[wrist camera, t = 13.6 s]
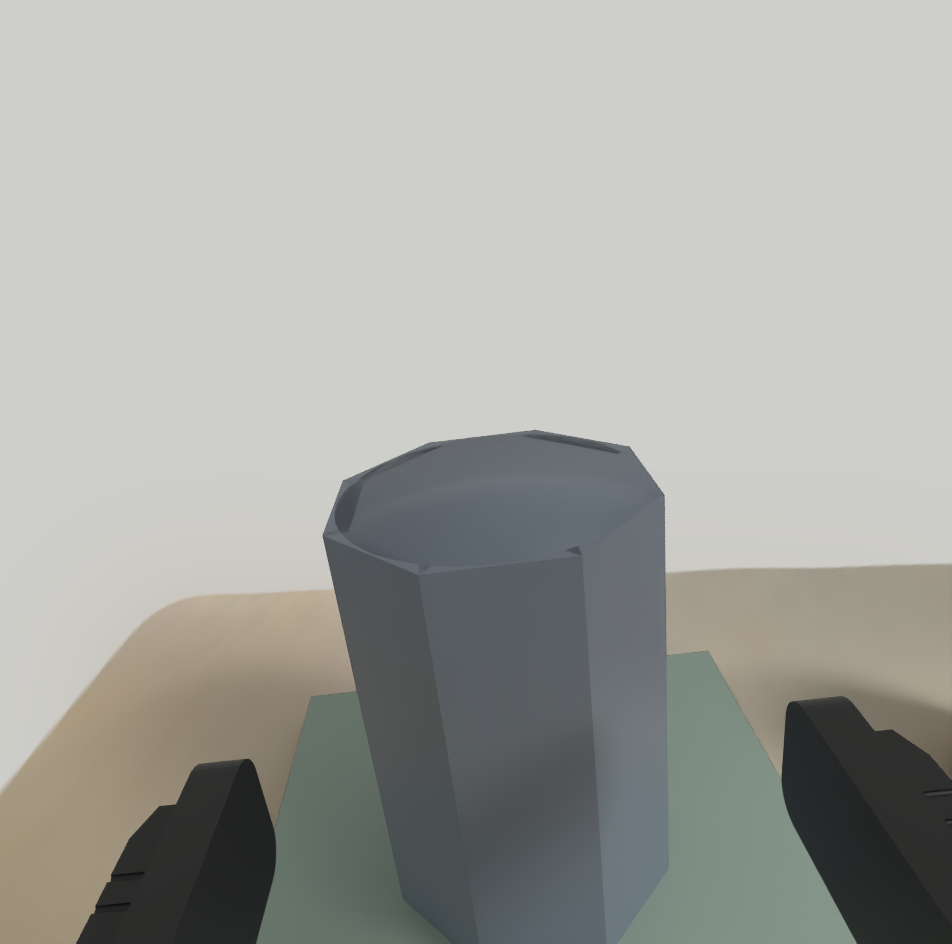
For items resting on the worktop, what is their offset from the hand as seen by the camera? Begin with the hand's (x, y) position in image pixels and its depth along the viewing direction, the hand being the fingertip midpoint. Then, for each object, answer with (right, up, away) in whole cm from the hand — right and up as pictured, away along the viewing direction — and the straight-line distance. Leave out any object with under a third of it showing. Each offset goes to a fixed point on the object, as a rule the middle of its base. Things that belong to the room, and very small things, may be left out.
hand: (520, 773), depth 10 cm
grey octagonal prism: (+1, -5, +8) cm, 9 cm away
